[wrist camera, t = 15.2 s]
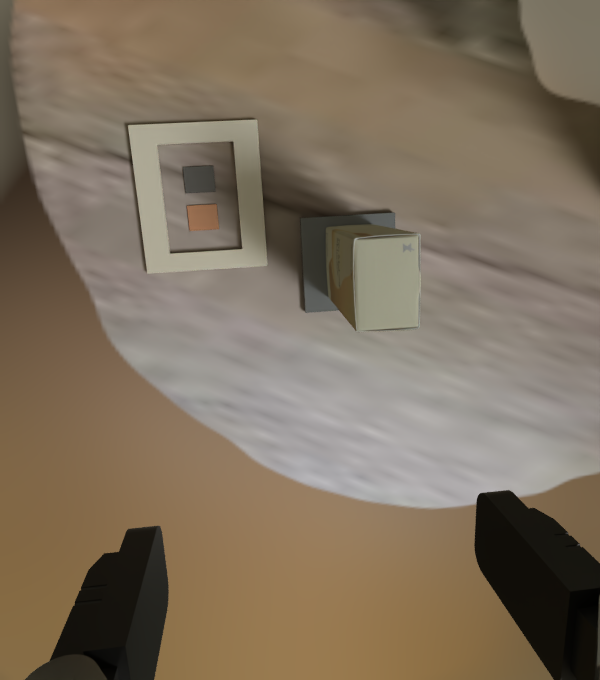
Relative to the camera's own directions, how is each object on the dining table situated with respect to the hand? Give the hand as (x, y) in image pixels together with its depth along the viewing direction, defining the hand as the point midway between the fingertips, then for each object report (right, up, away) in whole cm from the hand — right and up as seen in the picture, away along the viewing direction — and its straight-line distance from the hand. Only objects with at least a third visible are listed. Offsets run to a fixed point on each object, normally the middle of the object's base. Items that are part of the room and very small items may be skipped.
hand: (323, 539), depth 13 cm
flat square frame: (-9, +17, +29) cm, 34 cm away
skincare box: (+4, +12, +31) cm, 33 cm away
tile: (+4, +12, +31) cm, 33 cm away
